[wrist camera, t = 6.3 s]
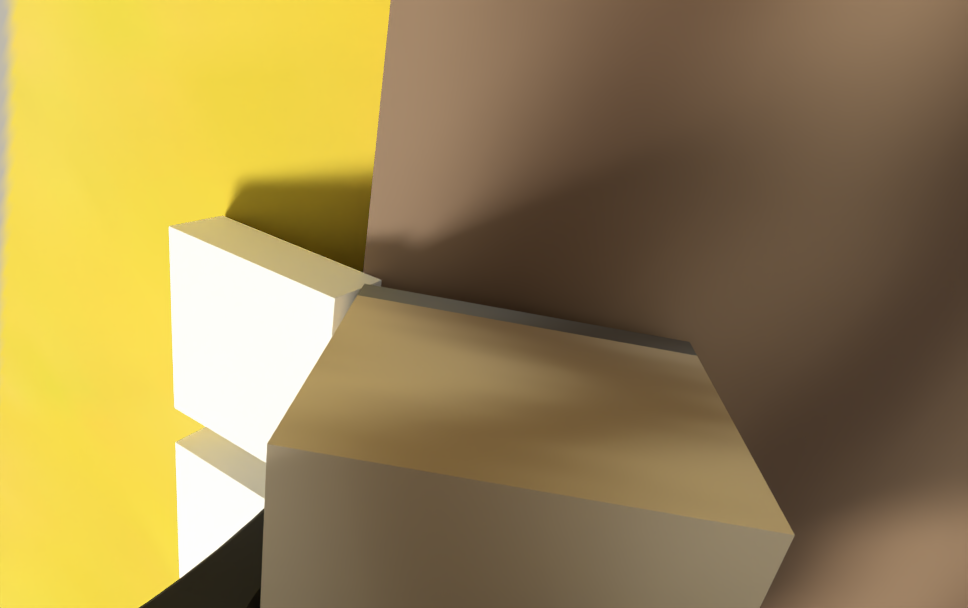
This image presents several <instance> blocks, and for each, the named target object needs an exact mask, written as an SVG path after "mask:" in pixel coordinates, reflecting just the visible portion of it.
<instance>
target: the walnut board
mask: <svg viewBox="0 0 968 608" xmlns="http://www.w3.org/2000/svg"><path fill="white" fill-rule="evenodd" d="M363 273H366V274H368V275H370V276H373V277H375V278H378V279H380V280H382V282H381V287H386V288H391V289H397V290H402V291H408V292H414V293H419V294H425V295H430V296H436V297H441V298H447V299H453V300H458V301H464V302H469V303H475V304H481V305H486V306H492V307H497V308H503V309H508V310H514V311H520V312H525V313H531V314H536V315H542V316H548V317H553V318H559V319H564V320H570V321H575V322H581V323H587V324H592V325H598V326H603V327H609V328H615V329H620V330H626V331H631V332H637V333H642V334H648V335H654V336H659V337H665V338H670V339H676V340H682V341H687V342H690V344H691V345H692V347H693V349H694V351H695V353H696V355H697V356H698V358H699V360H700V362H701V364H702V366H703V367H704V369H705V371H706V373H707V375H708V377H709V378H710V380H711V382H712V384H713V386H714V388H715V389H716V391H717V393H718V395H719V397H720V399H721V401H722V402H723V404H724V406H725V408H726V410H727V412H728V413H729V415H730V417H731V419H732V421H733V423H734V424H735V426H736V428H737V430H738V432H739V434H740V435H741V437H742V439H743V441H744V443H745V445H746V446H747V448H748V450H749V452H750V454H751V456H752V457H753V459H754V461H755V463H756V465H757V467H758V468H759V470H760V472H761V474H762V476H763V478H764V479H765V481H766V483H767V485H768V487H769V489H770V490H771V492H772V494H773V496H774V498H775V500H776V501H777V503H778V505H779V507H780V509H781V511H782V512H783V514H784V516H785V518H786V520H787V522H788V523H789V525H790V527H791V529H792V531H793V533H794V534H795V536H794V538H793V540H792V542H791V544H790V546H789V548H788V550H787V553H786V555H785V557H784V559H783V561H782V563H781V565H780V567H779V569H778V571H777V573H776V575H775V577H774V579H773V581H772V584H771V586H770V588H769V590H768V592H767V594H766V596H765V598H764V600H763V602H762V604H761V606H760V608H968V0H391V4H390V14H389V24H388V34H387V43H386V53H385V63H384V73H383V82H382V92H381V102H380V112H379V122H378V131H377V141H376V151H375V161H374V171H373V180H372V190H371V200H370V210H369V220H368V229H367V239H366V249H365V259H364V268H363Z"/></svg>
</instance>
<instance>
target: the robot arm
mask: <svg viewBox="0 0 968 608" xmlns="http://www.w3.org/2000/svg"><path fill="white" fill-rule="evenodd" d="M263 527H264V509H263V510H262V511H260V512H259V513H258V514H257V515H256V516H255V517H254V518H253V519H252V520H251V521H249V522H248V523H247V524H246V525H245V526H244V527H242V528H241V529H240V530H239V531H238V532H237V533H236V534H234V535H233V536H232V537H231V538H230V539H229V540H228V541H226V542H225V543H224V544H223V545H222V546H220V547H219V548H218V549H217V550H216V551H214V552H213V553H212V554H211V555H209V556H208V557H207V558H205V559H204V560H203V561H202V562H200V563H199V564H198V565H197V566H195V567H194V568H193V569H191V570H190V571H189V572H188V573H186V574H185V575H184V576H183V577H181V578H180V579H179V580H177V581H176V582H175V583H173V584H172V585H171V586H169V587H168V588H166V589H165V590H164V591H162V592H161V593H160V594H158V595H157V596H155V597H154V598H153V599H151V600H150V601H148V602H147V603H145V604H144V605H142V606H141V607H139V608H260V600H261V576H262V552H263Z"/></svg>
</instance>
